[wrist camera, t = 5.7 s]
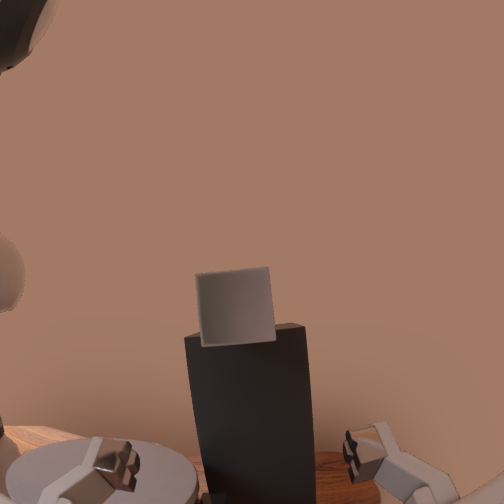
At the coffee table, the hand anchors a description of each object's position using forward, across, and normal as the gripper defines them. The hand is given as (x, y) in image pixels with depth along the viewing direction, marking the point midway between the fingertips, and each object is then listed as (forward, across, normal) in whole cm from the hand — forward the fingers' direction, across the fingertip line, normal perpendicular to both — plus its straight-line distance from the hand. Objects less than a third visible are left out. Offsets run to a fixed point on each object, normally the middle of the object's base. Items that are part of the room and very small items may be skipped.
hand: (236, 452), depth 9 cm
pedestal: (+4, 0, +28) cm, 29 cm away
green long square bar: (+17, 0, +3) cm, 17 cm away
